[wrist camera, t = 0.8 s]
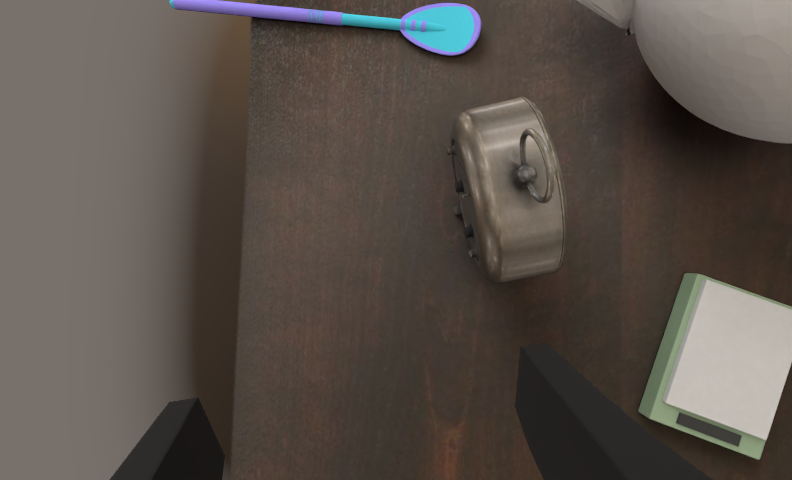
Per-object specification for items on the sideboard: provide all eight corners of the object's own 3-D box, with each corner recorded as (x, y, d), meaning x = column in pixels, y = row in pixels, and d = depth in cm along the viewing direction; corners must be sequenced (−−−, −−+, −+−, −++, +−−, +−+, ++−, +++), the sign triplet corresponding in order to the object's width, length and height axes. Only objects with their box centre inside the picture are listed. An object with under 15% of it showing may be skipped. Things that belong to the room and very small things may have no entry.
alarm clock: (531, 269, 33) (644, 274, 17) (462, 283, 33) (508, 301, 17) (501, 132, 34) (581, 12, 18) (433, 146, 34) (452, 39, 18)
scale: (742, 450, 32) (765, 463, 30) (637, 411, 32) (653, 421, 30) (788, 310, 32) (814, 313, 30) (684, 272, 33) (702, 273, 31)
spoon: (481, 9, 34) (484, 1, 33) (475, 61, 35) (477, 55, 33) (176, -20, 35) (167, -29, 34) (171, 30, 36) (162, 23, 34)
